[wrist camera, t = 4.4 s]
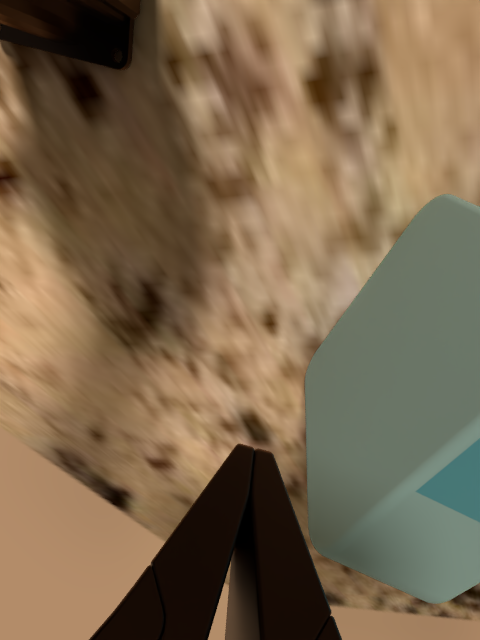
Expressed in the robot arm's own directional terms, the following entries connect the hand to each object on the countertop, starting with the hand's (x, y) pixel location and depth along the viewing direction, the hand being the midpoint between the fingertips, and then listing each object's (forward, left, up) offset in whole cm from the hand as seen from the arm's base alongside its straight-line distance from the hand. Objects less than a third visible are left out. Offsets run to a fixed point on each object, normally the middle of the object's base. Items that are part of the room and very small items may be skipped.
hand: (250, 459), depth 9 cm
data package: (+7, 0, -13) cm, 15 cm away
